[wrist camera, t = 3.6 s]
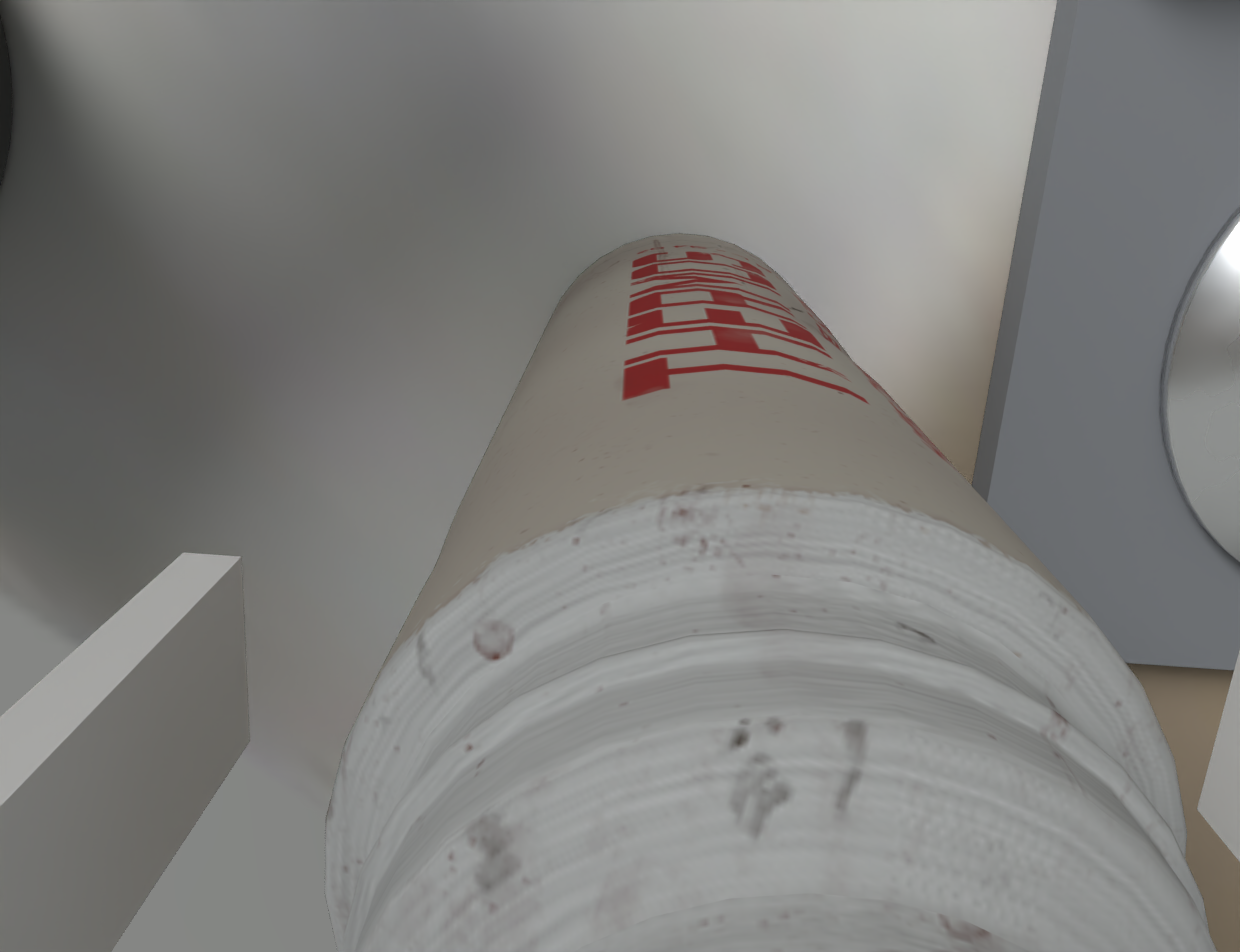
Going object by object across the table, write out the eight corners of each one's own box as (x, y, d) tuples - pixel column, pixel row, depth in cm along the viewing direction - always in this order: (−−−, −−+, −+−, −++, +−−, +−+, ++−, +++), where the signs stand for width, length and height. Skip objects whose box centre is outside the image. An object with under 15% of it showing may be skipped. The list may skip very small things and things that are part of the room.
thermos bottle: (601, 187, 30) (217, 745, 3) (863, 298, 30) (2438, 1535, 4) (500, 444, 32) (-222, 2054, 5) (746, 541, 33) (1198, 2368, 6)
